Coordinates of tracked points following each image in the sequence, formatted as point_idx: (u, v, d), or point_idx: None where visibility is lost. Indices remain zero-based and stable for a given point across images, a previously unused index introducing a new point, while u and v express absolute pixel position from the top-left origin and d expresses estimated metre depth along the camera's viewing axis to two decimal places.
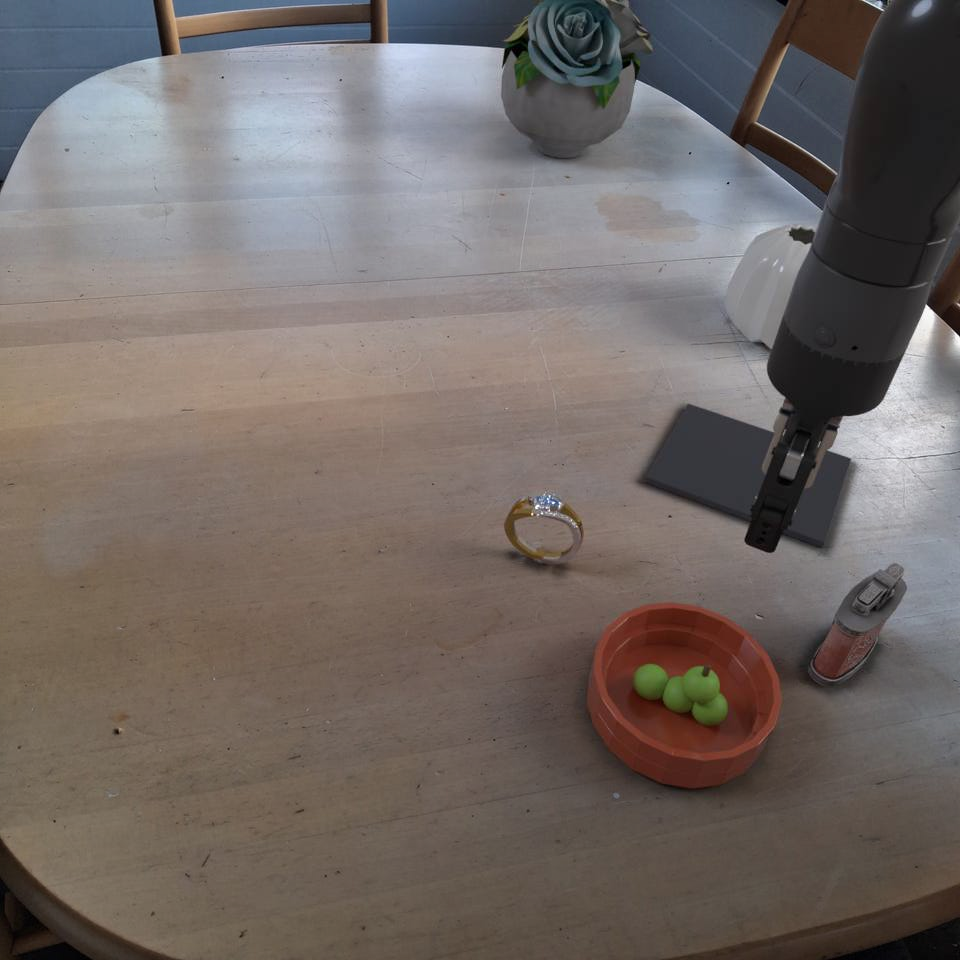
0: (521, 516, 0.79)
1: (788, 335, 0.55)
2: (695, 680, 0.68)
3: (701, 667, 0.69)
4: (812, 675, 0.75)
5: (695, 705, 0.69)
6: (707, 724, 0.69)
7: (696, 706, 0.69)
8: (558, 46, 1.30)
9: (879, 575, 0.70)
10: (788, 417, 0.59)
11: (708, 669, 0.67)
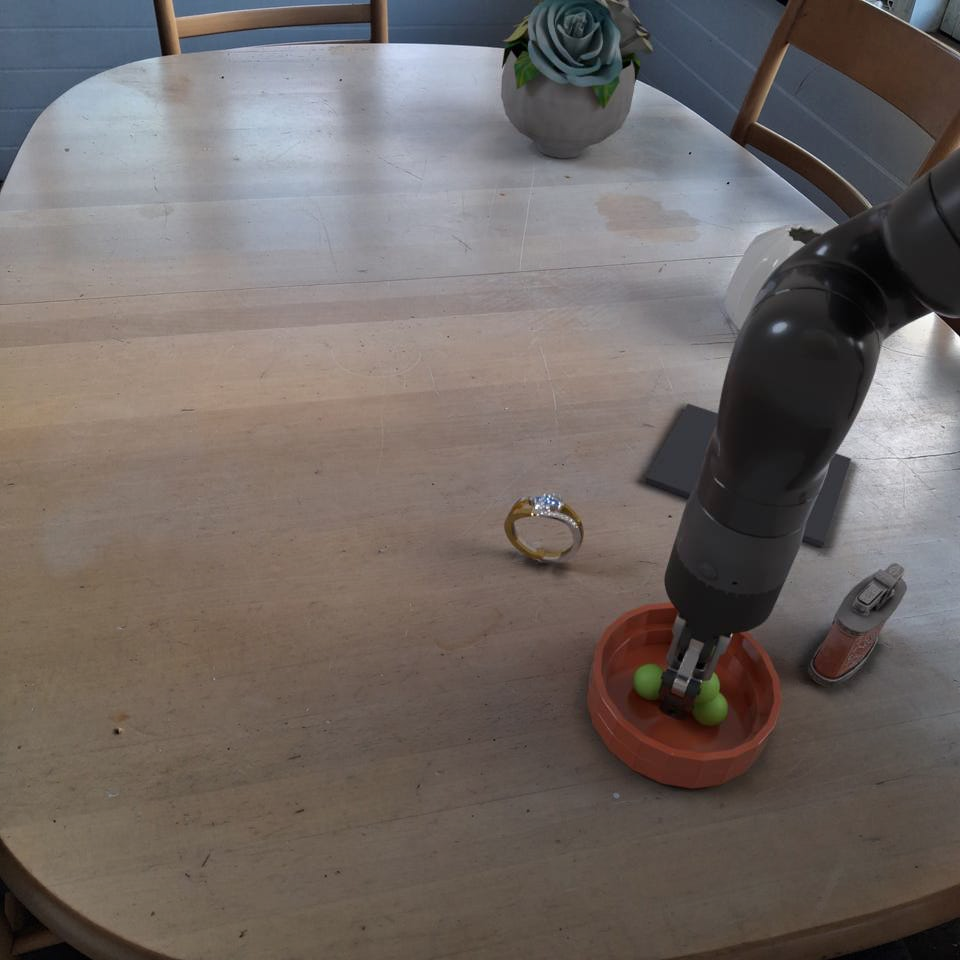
0: (521, 516, 0.79)
1: (678, 560, 0.59)
2: None
3: None
4: (812, 675, 0.75)
5: (695, 705, 0.69)
6: (707, 724, 0.69)
7: (696, 706, 0.69)
8: (558, 46, 1.30)
9: (879, 575, 0.70)
10: (685, 622, 0.63)
11: None
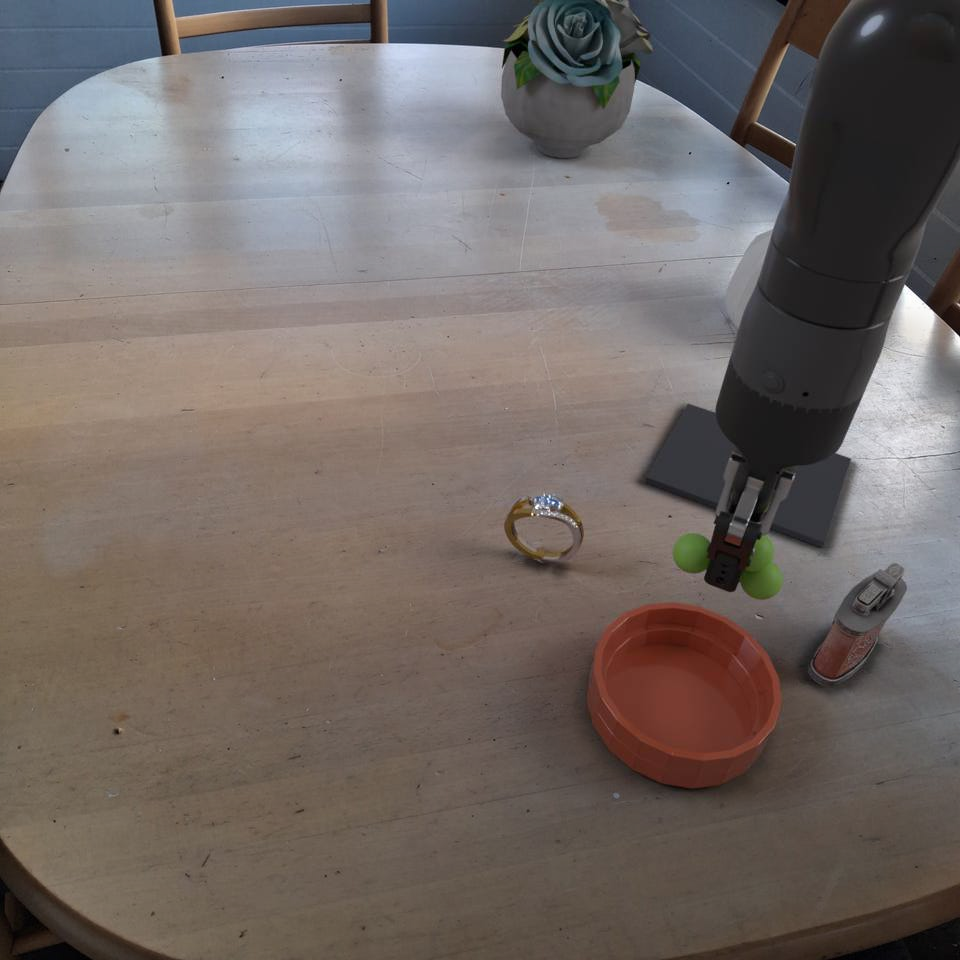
0: (521, 516, 0.79)
1: (735, 378, 0.50)
2: None
3: None
4: (812, 675, 0.75)
5: (746, 575, 0.61)
6: (759, 596, 0.61)
7: (746, 576, 0.61)
8: (558, 46, 1.30)
9: (879, 575, 0.70)
10: (739, 464, 0.54)
11: None
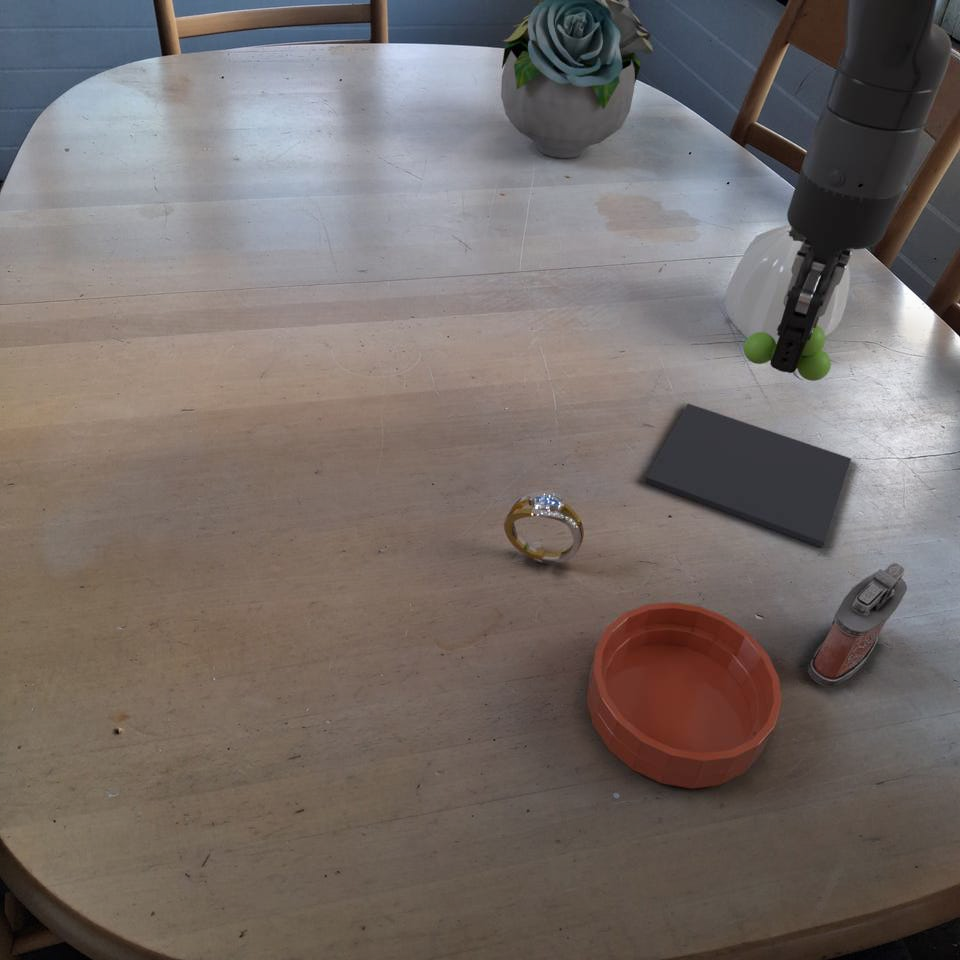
0: (521, 516, 0.79)
1: (806, 182, 0.68)
2: None
3: None
4: (812, 675, 0.75)
5: (802, 360, 0.79)
6: (813, 376, 0.78)
7: (803, 360, 0.78)
8: (558, 46, 1.30)
9: (879, 575, 0.70)
10: (804, 257, 0.72)
11: (817, 318, 0.76)
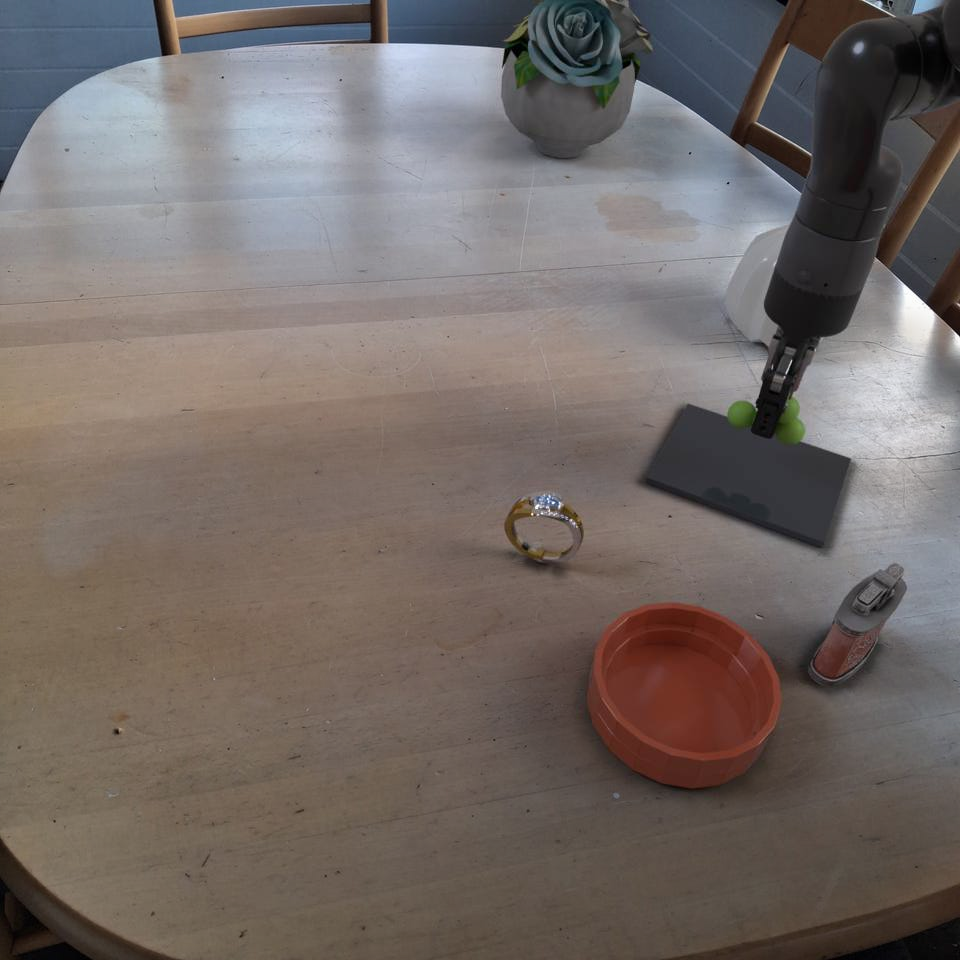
0: (521, 516, 0.79)
1: (779, 278, 0.77)
2: None
3: None
4: (812, 675, 0.75)
5: (779, 427, 0.88)
6: (789, 441, 0.87)
7: (780, 427, 0.87)
8: (558, 46, 1.30)
9: (879, 575, 0.70)
10: (779, 341, 0.81)
11: None
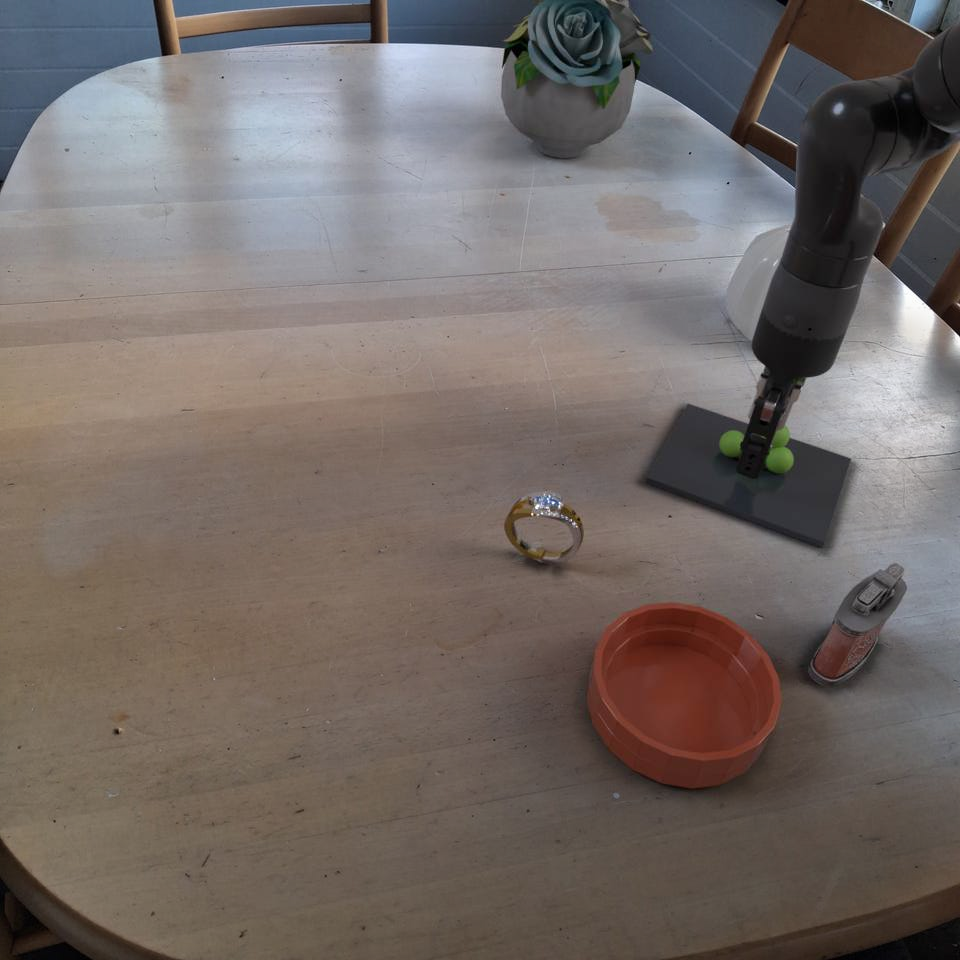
0: (521, 516, 0.79)
1: (765, 321, 0.80)
2: None
3: None
4: (812, 675, 0.75)
5: (771, 450, 0.91)
6: (780, 464, 0.91)
7: (771, 451, 0.91)
8: (558, 46, 1.30)
9: (879, 575, 0.70)
10: (766, 379, 0.84)
11: None
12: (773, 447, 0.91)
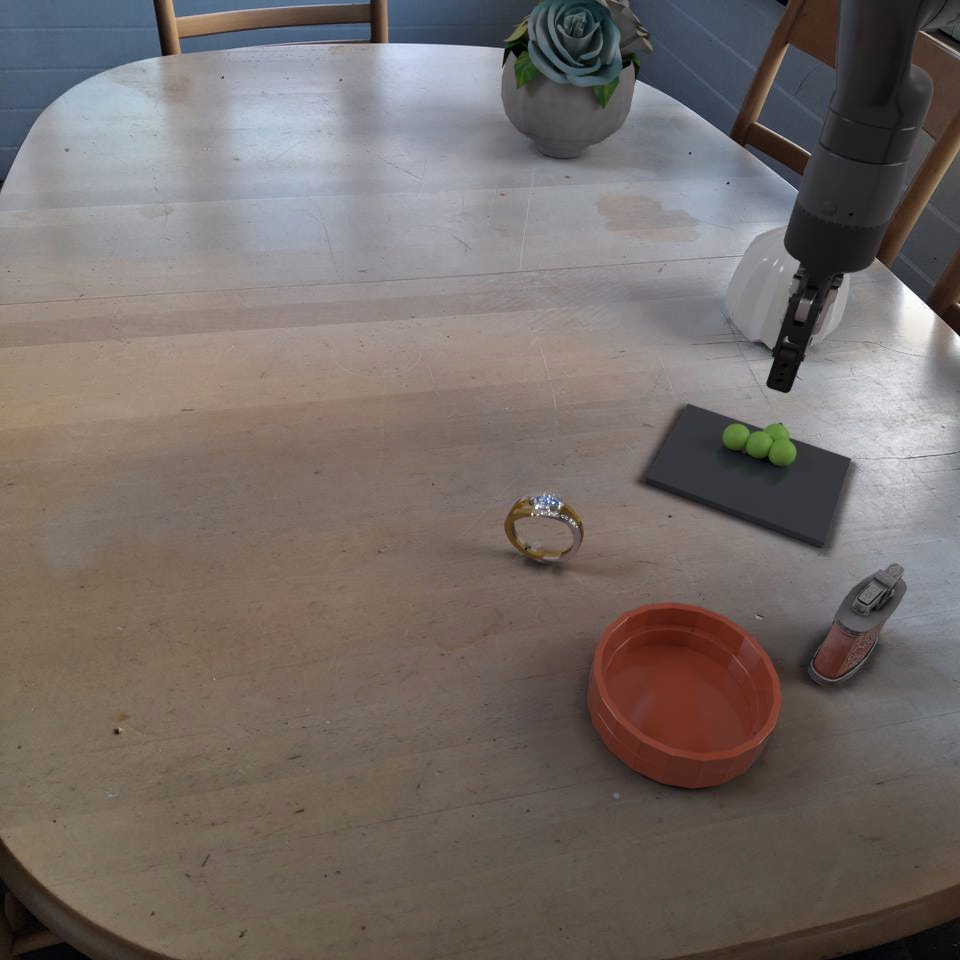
0: (521, 516, 0.79)
1: (801, 210, 0.73)
2: None
3: None
4: (812, 675, 0.75)
5: (775, 440, 0.93)
6: (787, 445, 0.91)
7: (776, 440, 0.93)
8: (558, 46, 1.30)
9: (879, 575, 0.70)
10: (800, 280, 0.77)
11: (782, 423, 0.96)
12: (777, 439, 0.93)
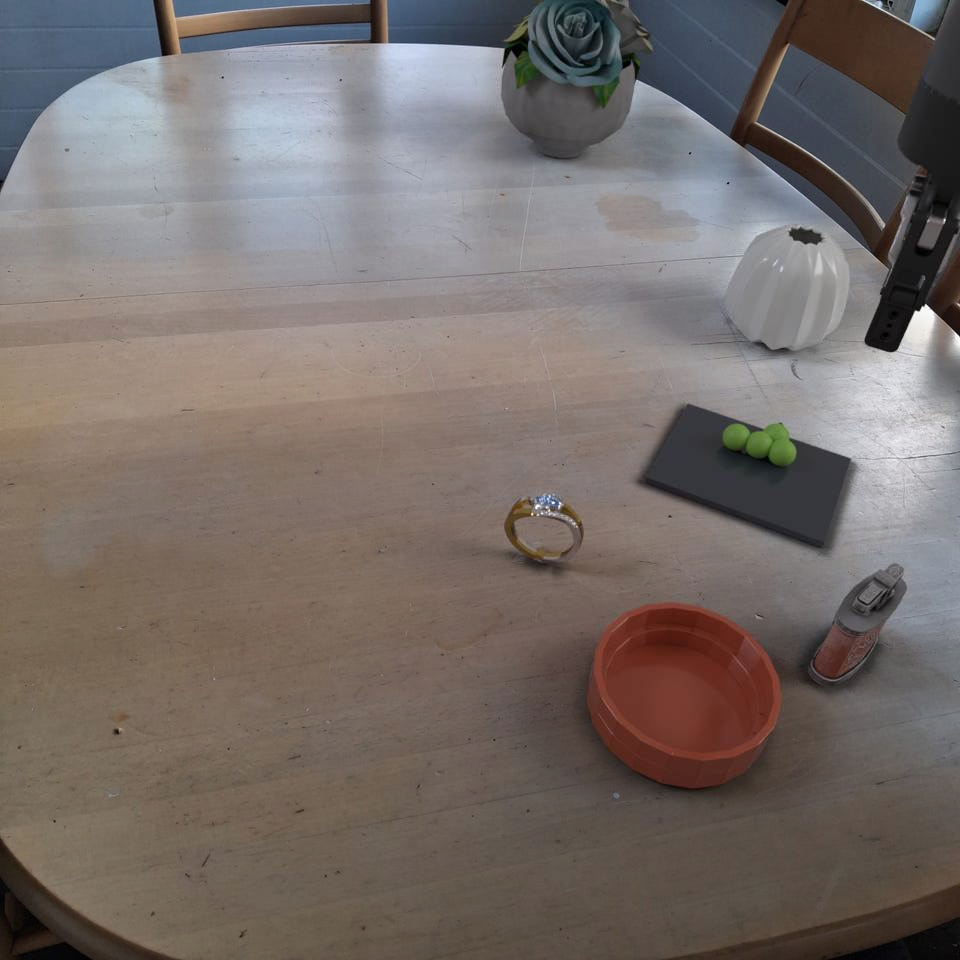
0: (521, 516, 0.79)
1: (930, 93, 0.52)
2: None
3: None
4: (812, 675, 0.75)
5: (775, 440, 0.93)
6: (787, 445, 0.91)
7: (776, 440, 0.93)
8: (558, 46, 1.30)
9: (879, 575, 0.70)
10: (919, 197, 0.57)
11: (782, 423, 0.96)
12: (777, 439, 0.93)
